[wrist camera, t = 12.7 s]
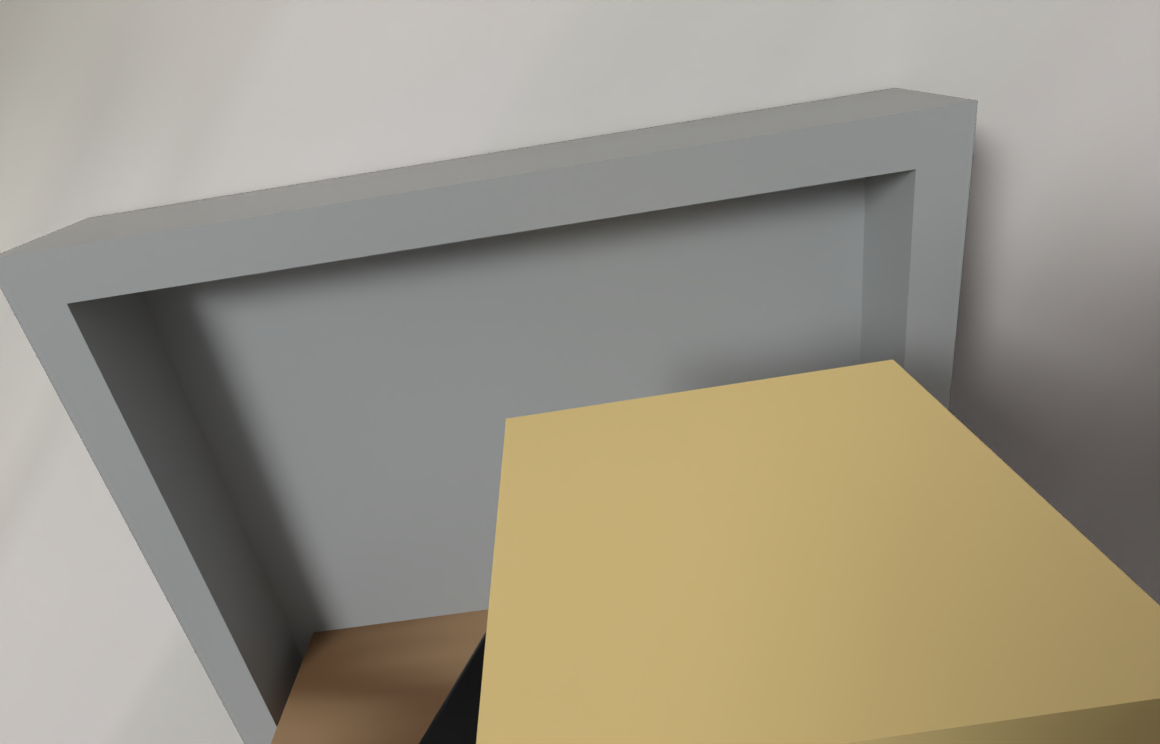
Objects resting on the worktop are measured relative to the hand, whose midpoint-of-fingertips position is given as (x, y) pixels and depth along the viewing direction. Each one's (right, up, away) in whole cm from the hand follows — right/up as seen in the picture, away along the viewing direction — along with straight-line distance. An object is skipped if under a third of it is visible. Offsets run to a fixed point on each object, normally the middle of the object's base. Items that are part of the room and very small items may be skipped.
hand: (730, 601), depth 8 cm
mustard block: (0, 0, +1) cm, 1 cm away
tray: (-2, -1, +7) cm, 8 cm away
